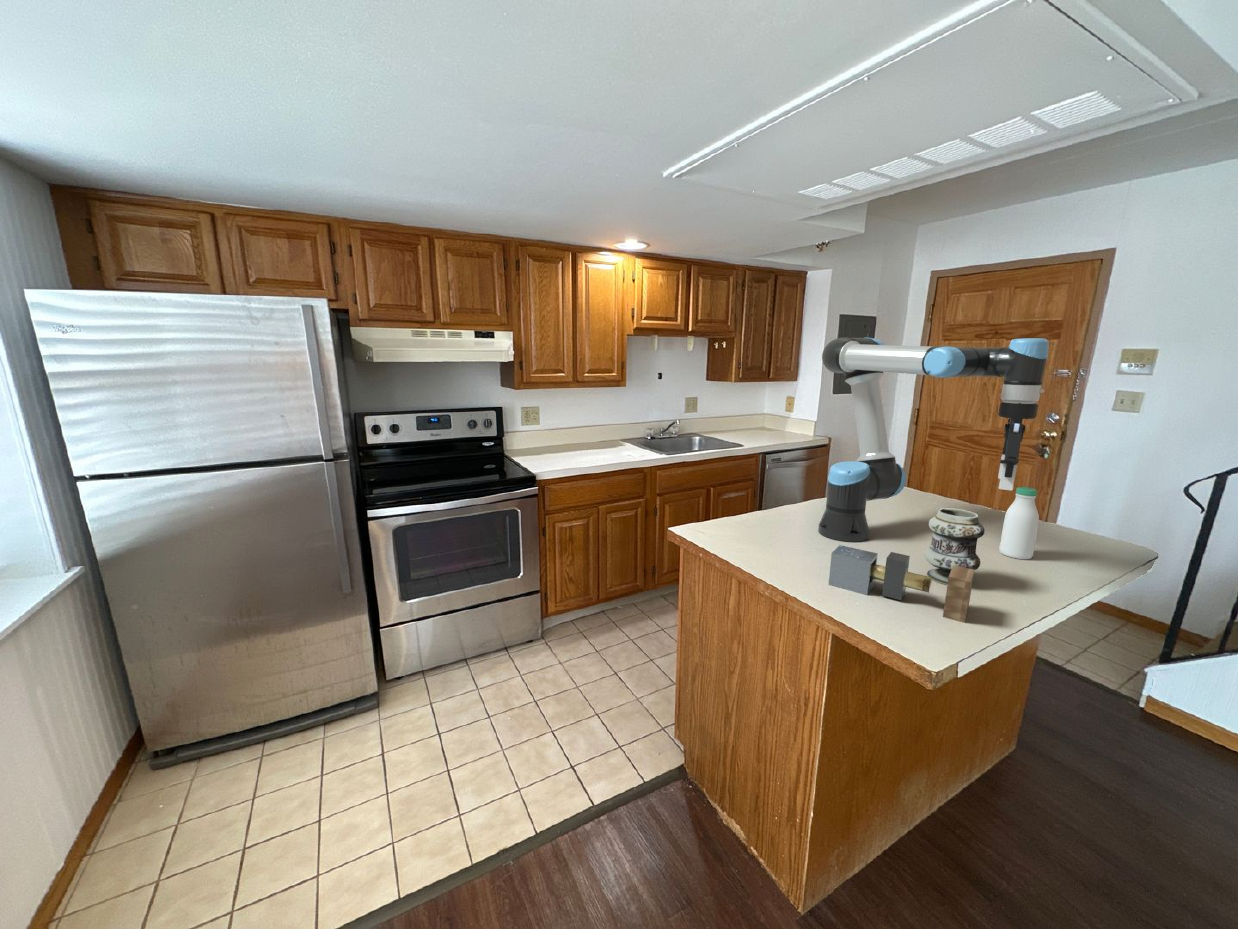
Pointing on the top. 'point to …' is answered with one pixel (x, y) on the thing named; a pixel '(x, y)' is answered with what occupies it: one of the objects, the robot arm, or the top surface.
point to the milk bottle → (1020, 525)
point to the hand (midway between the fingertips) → (1004, 484)
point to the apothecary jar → (953, 542)
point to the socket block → (958, 593)
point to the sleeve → (852, 569)
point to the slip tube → (898, 576)
